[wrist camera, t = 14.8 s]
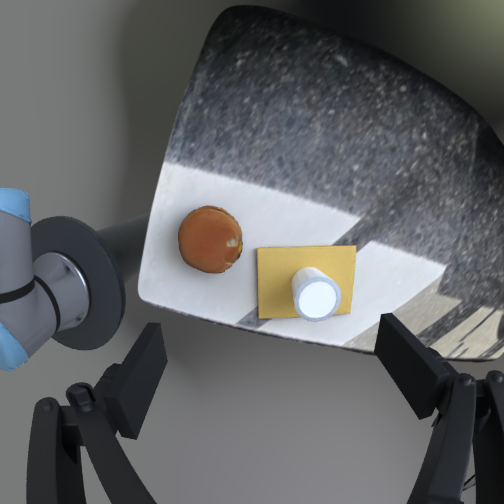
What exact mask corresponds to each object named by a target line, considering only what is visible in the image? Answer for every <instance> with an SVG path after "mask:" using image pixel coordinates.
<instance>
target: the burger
mask: <svg viewBox="0 0 504 504" xmlns="http://www.w3.org/2000/svg"><path fill="white" fill-rule="evenodd" d="M178 242H179V250H180V253H181V256H182V258H183V260H184V261H185V262H186V263H187V264H188V265H190V266H192V267H193V268H196V269H198V270H200V271H203V272H206V273H223V272H225V270H226V269H228V268H230V267H231V266H232V264H233V263H235V261H236V260H237V259H238V258H239V257H240V254H241V252H242V245H243V243H242V232H241V228H240V226H239V224H238V222H237V221H236V220H235V219H234V217H233V216H232V215H230V214H229V213H227V212H226V211H225V210H224V209H222V208H218V207H214V206H203V207H201V208H199V209H197V210H193V211H192V212H191V213H189V214H188V216H187V217H186V218H185V219H184V220H183V222H182V223H181V226H180V228H179V232H178Z"/></svg>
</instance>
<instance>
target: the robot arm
mask: <svg viewBox="0 0 504 504" xmlns="http://www.w3.org/2000/svg"><path fill="white" fill-rule="evenodd" d="M31 223H32V221H31V219H30V200H29V196H28V195H27V193H26V192H25V191H23V190H19V189H9V188H0V369H2V370H4V371H14V370H15V369H17V368H18V367H19V366H20V365H22V364H23V363H25V362H27V360H28V359H29V358H30V357H31V356H32V355H33V354H34V353H35V352H36V351H37V350H38V349H39V348H40V347H41V346H42V345H43V344H44V343H45V342H46V341H47V340H49V339H50V338H51V337H52V336H53V335H54V334H55V333H56V332H58V331H62V330H66V329H69V328H73V327H75V326H78V325H79V324H80V323H82V322H83V321H84V320H85V319H86V318H87V316H88V314H89V312H90V310H91V305H92V295H91V289H90V285H89V282H88V280H87V277H86V275H85V273H84V271H83V270H82V268H81V267H80V266H79V264H78V263H77V262H76V261H75V260H74V259H73V258H72V257H70V256H69V255H67V254H65V253H63V252H60V251H50V252H47V253H45V254H43V255H41V256H39V257H38V258H37V259H36V260H35V261H34V263H33V260H32V246H31ZM374 352H375V354H376V355H377V357H378V358H379V360H380V361H381V362H382V364H383V365H384V367H385V368H386V370H387V371H388V373H389V374H390V376H391V377H392V379H393V380H394V382H395V383H396V385H397V386H398V388H399V389H400V391H401V392H402V394H403V395H404V397H405V398H406V400H407V401H408V403H409V404H410V406H411V408H412V409H413V411H414V412H415V414H416V415H417V417H418V418H419V420H421V419H423V418H427V417H429V416H431V415H432V414H433V412H434V409H435V407H436V408H437V409H438V411H439V413H438V415H437V417H436V419H435V420H434V422H433V424H432V427H433V426H434V428H433V432H432V436H431V439H430V443H429V446H428V449H427V453H426V455H425V458H424V461H423V464H422V467H421V470H420V472H419V475H418V478H417V480H416V483H415V485H414V488H413V490H412V493H411V495H410V497H409V500H408V501H407V504H464V502H462V501H460V497H461V493H462V490H463V486H464V482H465V477H466V473H467V468H468V463H469V458H470V452H471V445H472V443H473V453H474V463H475V480H476V504H504V374H503V373H502V372H499V371H495V370H493V371H490V372H488V374H487V376H486V378H485V379H482V380H475V378H474V377H472V376H471V375H469V374H466V373H461V374H459V373H458V372H457V371H456V370H455V369H454V368H453V367H452V366H451V365H450V364H449V363H448V362H447V361H446V360H445V359H444V358H443V357H442V356H441V355H440V354H439V353H438V352H437V351H436V350H434V349H432V348H430V347H428V348H426V347H425V346H424V345H423V344H422V343H421V342H420V341H419V340H418V339H417V338H416V337H415V336H414V335H413V334H412V333H411V332H410V331H409V330H408V329H407V328H406V327H405V326H404V325H403V324H402V323H401V322H400V321H399V320H398V319H397V318H396V317H395V316H394V315H393V314H392V313H387V314H381V318H380V324H379V329H378V334H377V339H376V344H375V349H374ZM167 362H168V360H167V356H166V351H165V346H164V340H163V335H162V331H161V324H160V323H148V324H147V325H146V327H145V328H144V330H143V331H142V333H141V334H140V336H139V337H138V339H137V341H136V342H135V344H134V345H133V347H132V348H131V350H130V351H129V353H128V354H127V356H126V358H125V359H124V361H123V362H122V364H115V363H114V364H112V365H111V366H110V367H109V368H107V369H106V371H105V372H104V374H103V376H102V377H101V378H100V381H98V383H97V384H96V386H95V387H94V389H93V388H92V386H91V385H90V384H88V383H82V382H81V383H76V384H73V385H71V386H70V387H69V388H68V389H67V391H66V397H67V399H68V401H69V403H70V405H71V406H60V405H59V403H58V401H56V399H54V398H51V397H47V398H43V399H41V400H39V401H38V402H37V403H36V405H35V409H34V414H33V420H32V427H31V434H30V442H29V451H28V463H27V485H26V487H27V488H26V492H27V493H26V500H27V504H86V498H85V491H84V484H83V475H82V465H81V452H80V446H85V447H86V449H87V452H88V454H89V457H90V459H91V462H92V464H93V466H94V469H95V471H96V473H97V475H98V477H99V480H100V482H101V483H102V486H103V488H104V490H105V492H106V494H107V496H108V498H109V499H110V501H111V503H112V504H157V503H156V502H155V500H154V499H153V497H152V496H151V495H150V493H149V492H148V491H147V489H146V487H145V486H144V484H143V483H142V481H141V480H140V478H139V476H138V475H137V473H136V472H135V470H134V468H133V467H132V465H131V463H130V462H129V460H128V458H127V456H126V455H125V453H124V451H123V449H122V447H121V446H120V444H119V442H118V440H117V438H116V436H115V435H116V432H117V430H118V431H119V432H120V434H121V436H122V437H125V438H130V439H135V440H137V437H138V435H139V432H140V429H141V427H142V424H143V421H144V419H145V416H146V414H147V411H148V409H149V406H150V404H151V401H152V399H153V396H154V394H155V391H156V388H157V386H158V384H159V381H160V379H161V376H162V374H163V371H164V369H165V366H166V364H167Z"/></svg>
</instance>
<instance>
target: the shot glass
mask: <svg viewBox="0 0 504 504" xmlns="http://www.w3.org/2000/svg"><path fill="white" fill-rule="evenodd" d="M291 286H292V292H293V298H294V304H295V310H296V311H297V312H298V314H299V315H300V317H302V318H304V319H306V320H307V321H314V322H318V321H322V320H326V319H327V318H329V317H330V316H332V315H333V314H334V313H335V312H336V310H337V309H338V308H339V305H340V302H341V290H340V288H339V287H338V285H337V283H336V282H334V281H333V280H332V279H330V278H329V277H328V276H326V275H325V274H324V273H322V272H321V271H320V270H318V269H317V268H313V267H306V268H302V269H301V270H299V271H298V272H296V274H295V275H294V277H293V279H292V283H291Z"/></svg>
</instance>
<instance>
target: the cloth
mask: <svg viewBox="0 0 504 504" xmlns="http://www.w3.org/2000/svg"><path fill="white" fill-rule="evenodd" d="M257 251H258V308H259V319H264V318H288V317H300V315H299V314H298V312H297V311H296V310H295V304H294V298H293V292H292V286H291V283H292V279H293V277H294V275H295V274H296V272H298V271H299V270H301V269H302V268H306V267H313V268H317V269H318V270H320V271H321V272H322V273H324V274H325V275H326V276H328V277H329V278H330V279H332V280H333V281H334V282H336V283H337V285H338V287H339V288H340V290H341V302H340V305H339V308H338V309H337V310H336V312H335V313H334V314H346V313H350V310H351V302H352V292H353V282H354V271H355V257H356V246H355V245H352V246H308V247H268V248H257ZM334 314H333V315H334Z"/></svg>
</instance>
